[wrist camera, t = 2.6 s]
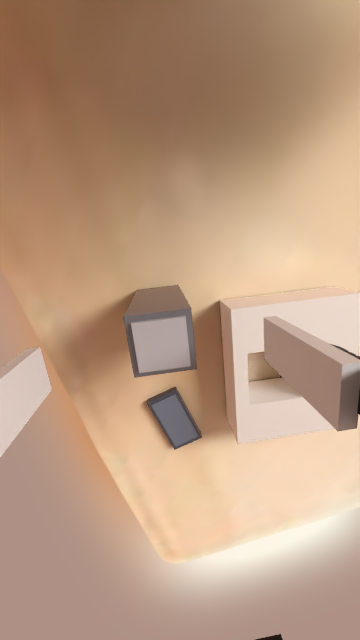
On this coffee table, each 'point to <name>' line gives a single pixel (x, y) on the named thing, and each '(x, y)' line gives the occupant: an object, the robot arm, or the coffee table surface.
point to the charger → (160, 332)
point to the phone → (174, 418)
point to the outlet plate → (248, 337)
